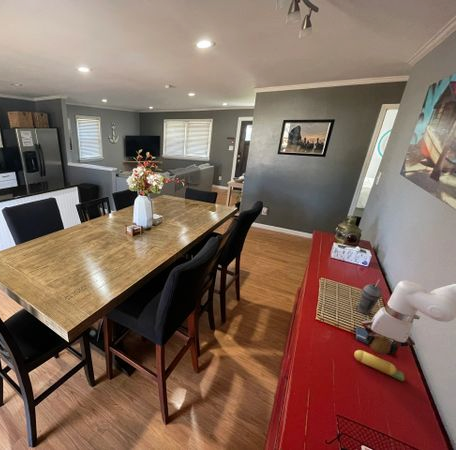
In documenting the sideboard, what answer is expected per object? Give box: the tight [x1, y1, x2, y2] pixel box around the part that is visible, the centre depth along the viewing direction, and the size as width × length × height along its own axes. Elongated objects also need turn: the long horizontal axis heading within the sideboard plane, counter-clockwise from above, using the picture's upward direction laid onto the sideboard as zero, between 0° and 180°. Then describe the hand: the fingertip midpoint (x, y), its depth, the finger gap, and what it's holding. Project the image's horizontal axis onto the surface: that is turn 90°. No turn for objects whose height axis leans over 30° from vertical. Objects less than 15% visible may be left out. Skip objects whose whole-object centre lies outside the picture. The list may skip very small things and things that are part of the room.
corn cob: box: [353, 349, 405, 382], centre depth 92 cm, size 15×4×4 cm, turn 52°
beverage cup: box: [357, 278, 383, 315], centre depth 117 cm, size 7×7×20 cm
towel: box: [355, 326, 394, 356], centre depth 104 cm, size 12×8×2 cm, turn 52°
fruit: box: [369, 334, 391, 355], centre depth 95 cm, size 6×6×8 cm
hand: (379, 346), depth 96 cm, fingers closed on fruit, 6 cm apart
